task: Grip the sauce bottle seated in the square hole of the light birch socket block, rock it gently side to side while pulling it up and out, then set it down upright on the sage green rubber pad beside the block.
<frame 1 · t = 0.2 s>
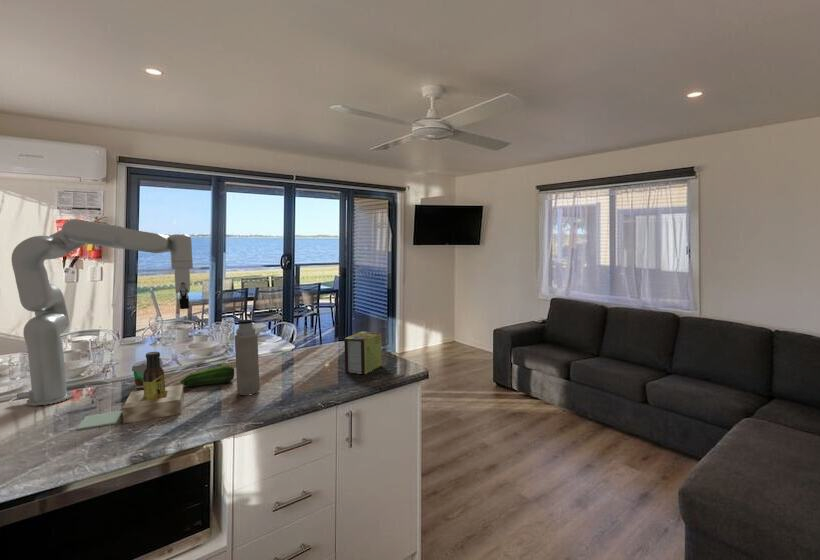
hand: (184, 307, 164), 31 cm above the worktop, tool pointing down, fingers open, 9 cm apart
sauce bottle: (155, 410, 139), resting in socket block
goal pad: (100, 420, 131), on the worktop
protein box: (363, 369, 183), on the worktop
food container: (152, 386, 162), on the worktop
thermos bottle: (248, 392, 155), on the worktop
vegetable: (208, 385, 164), on the worktop
socket block: (155, 409, 139), on the worktop
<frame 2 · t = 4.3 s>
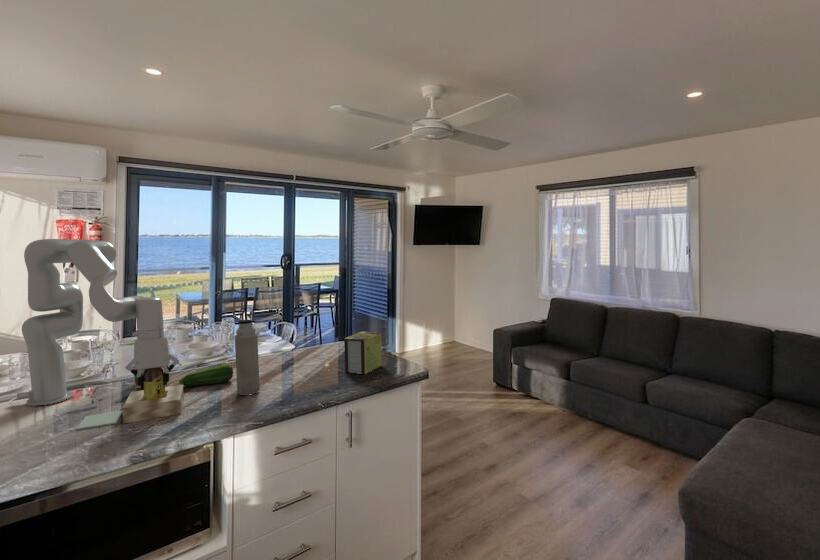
hand: (154, 385, 138), 9 cm above the worktop, tool pointing down, fingers closed on sauce bottle, 6 cm apart
sauce bottle: (156, 410, 139), resting in socket block, touching gripper
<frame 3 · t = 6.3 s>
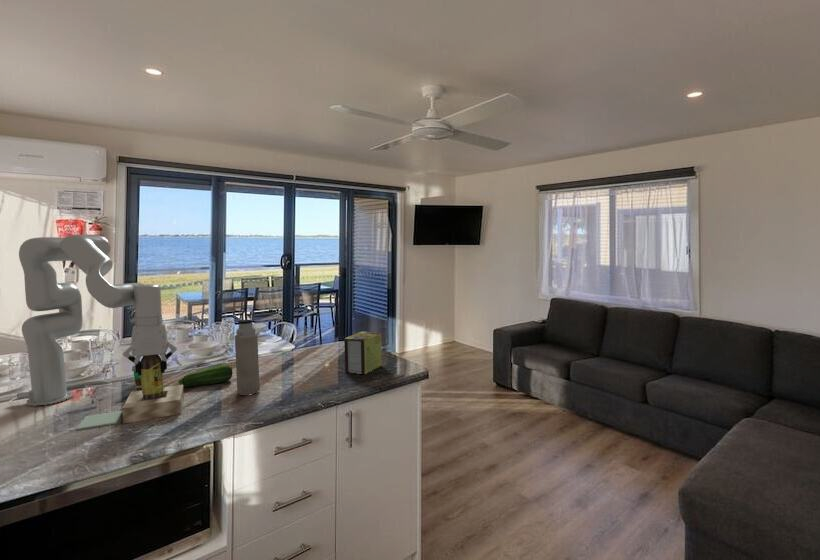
hand: (151, 372, 138), 13 cm above the worktop, tool pointing down, fingers closed on sauce bottle, 6 cm apart
sauce bottle: (153, 397, 139), point 4 cm above the worktop, touching gripper
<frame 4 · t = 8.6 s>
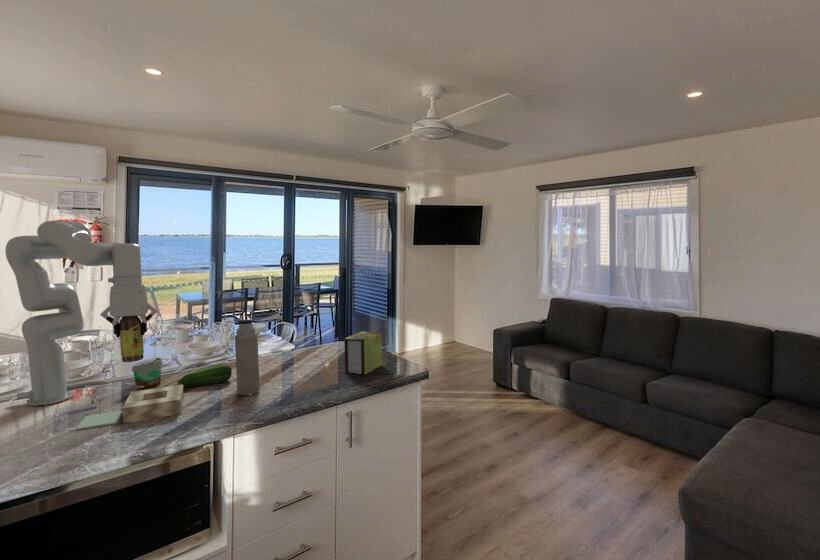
hand: (131, 334, 134), 27 cm above the worktop, tool pointing down, fingers closed on sauce bottle, 6 cm apart
sauce bottle: (133, 360, 135), point 18 cm above the worktop, touching gripper
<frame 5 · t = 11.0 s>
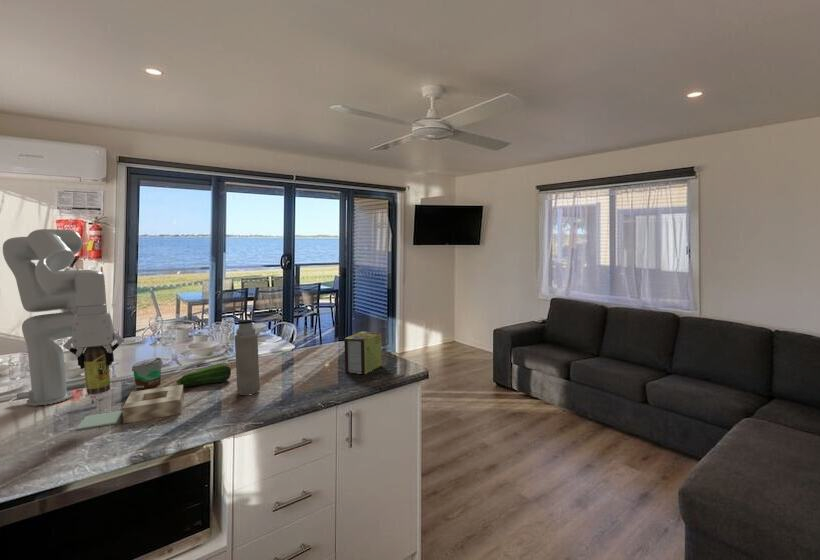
hand: (96, 365, 129), 18 cm above the worktop, tool pointing down, fingers closed on sauce bottle, 6 cm apart
sauce bottle: (99, 392, 130), point 9 cm above the worktop, touching gripper
when the fingers open (10 cm above the worktop, at t = 12.9 s): sauce bottle drops 1 cm, resting on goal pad.
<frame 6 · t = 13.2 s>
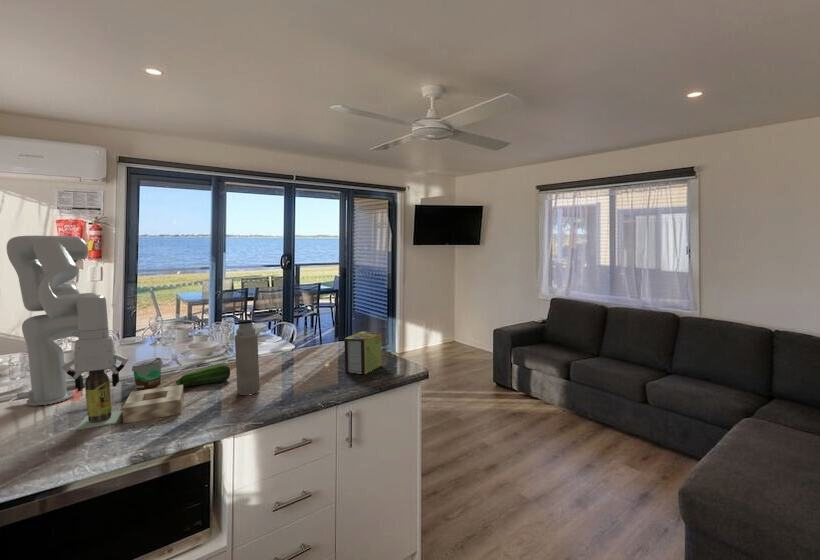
hand: (98, 387, 130), 11 cm above the worktop, tool pointing down, fingers open, 8 cm apart
sauce bottle: (100, 419, 131), resting on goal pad
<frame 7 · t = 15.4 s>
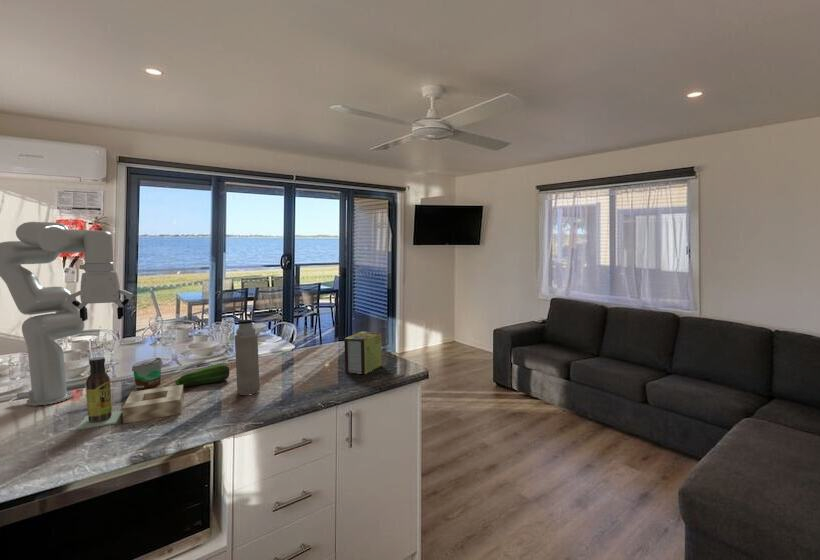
hand: (102, 319, 135), 32 cm above the worktop, tool pointing down, fingers open, 9 cm apart
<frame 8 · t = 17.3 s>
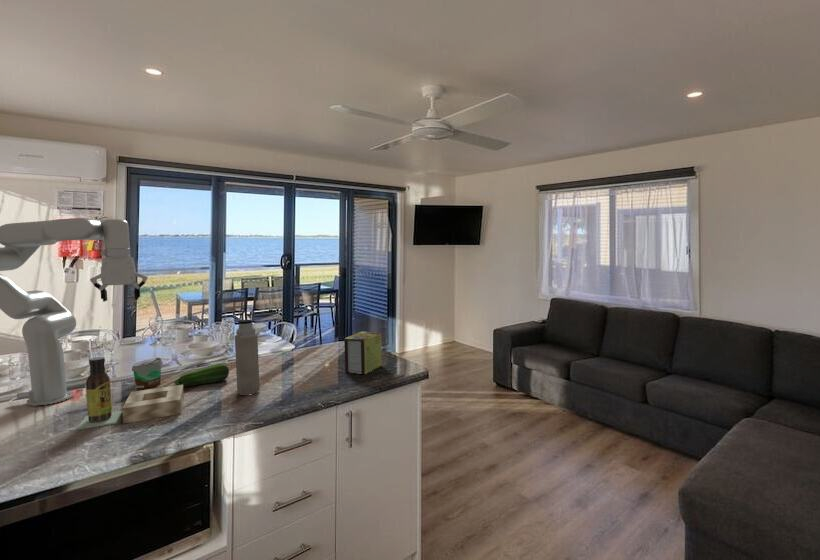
hand: (121, 300, 149), 36 cm above the worktop, tool pointing down, fingers open, 9 cm apart
at the end: sauce bottle inside the target area on the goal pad (0.2 cm from its centre), point 0.3 cm above the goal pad's base; sauce bottle tilted 0°; the gripper is holding nothing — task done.
